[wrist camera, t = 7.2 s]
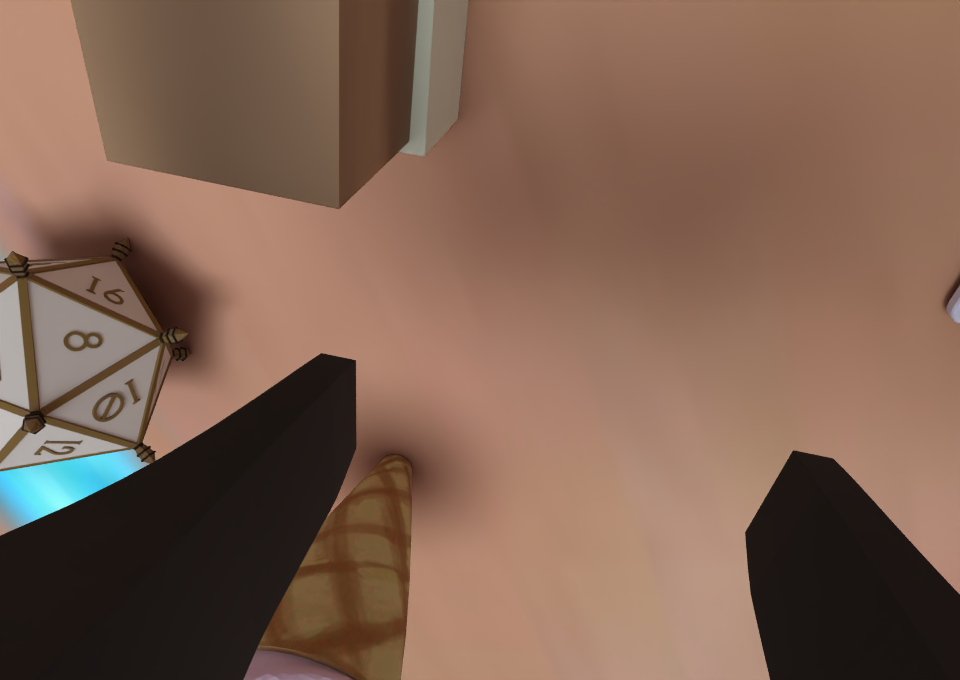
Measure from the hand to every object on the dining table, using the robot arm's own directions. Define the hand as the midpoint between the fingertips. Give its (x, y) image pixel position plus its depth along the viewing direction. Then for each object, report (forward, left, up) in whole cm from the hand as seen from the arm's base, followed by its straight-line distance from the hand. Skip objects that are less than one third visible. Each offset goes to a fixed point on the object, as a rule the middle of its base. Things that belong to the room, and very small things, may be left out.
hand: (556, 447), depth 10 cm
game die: (+17, +7, -11) cm, 21 cm away
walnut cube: (+7, -5, -7) cm, 11 cm away
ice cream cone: (+6, +13, -11) cm, 18 cm away
